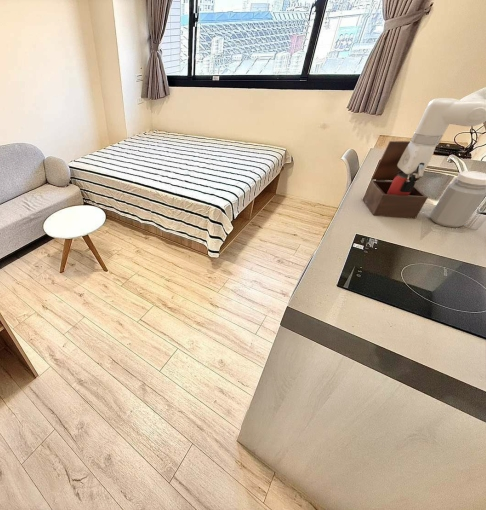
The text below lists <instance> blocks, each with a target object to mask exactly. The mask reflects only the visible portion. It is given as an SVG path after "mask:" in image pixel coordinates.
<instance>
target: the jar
mask: <svg viewBox="0 0 486 510" xmlns="http://www.w3.org/2000/svg"><path fill="white" fill-rule="evenodd" d="M453 181H454V182H452V183H450V184H448V185H447V187H446V189H445V191H444V192H443V193H442V195H441V197H440V198H439V200H438V202H437V204H436V205H435V206H434V208H433V210H432V212H431V213H430V219H431V221H432V222H433V223H435V224H437V225H440V226H443V227H447V228H460V227H462V226H464V225H466V224H467V223H468V221H469V220H470V219H471V217H472V216H473V214H474V213H475V212H476V210H477V209H478V207H479V206H480V205H481V203H482V202H483V200H484V199H485V198H486V172H483V171H482V172H481V171H475V170H474V171H473V170H463V171H460V172H459V173H458V174H457V176H456V179H454V180H453Z"/></svg>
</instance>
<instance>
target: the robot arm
mask: <svg viewBox="0 0 486 510" xmlns="http://www.w3.org/2000/svg"><path fill="white" fill-rule="evenodd" d="M485 122H486V86H485V87H483V88H480V89H478V90H476V91H474V92H472V93H470V94H467V95H466V96H464V97H462V98H461V99H458V98H451V97H437V98H433V99H432V100H430V101H429V102H428V104H427V106H426V108H425V110H424V112H423V113H422V116H421V118H420V121H419V123H418V125H417V126H416V129H415V131H414V133H413V134H412V137H411V139H410V140H409V141H410V143H409V144H408V146H407V148H406V149H405V151H404V153H403V154H402V156H401V158H400V160H399V162H398V164H397V166H398V168H399V170H398V172H397V175H398V174H399V173H405V174H408V176H407V180H406V181H404V183H403V185H402V187H401V189H400V192H411V190H412V188H413V186H414V185H415V184H416V183H418V181H419V180H420V179H421V178H423V177H424V172H425V171H426V169H427V168H428V166H429V164H430V162H431V160H432V157H433V155H434V152H435V150H436V147H437V146H439V144H440V142H441V140H442V138H443V137H444V135H445V133H446V131H447V129H448V127H449V125H455V126H460V127H475V126H479V125H482V124H484V123H485ZM412 172H416V173H412ZM397 175H396V176H397ZM411 175H415V176H413V177H412V178H411ZM415 186H416V185H415Z"/></svg>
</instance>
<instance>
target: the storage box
mask: <svg viewBox="0 0 486 510" xmlns="http://www.w3.org/2000/svg"><path fill="white" fill-rule="evenodd" d="M392 182H393V181H392V180H372V179H371V180H370V182H369V183H368V185H367V189H366V191H365V193H364V195H363V198H362V201H363V202H364V204H365V206H366V207H367V209H368V210H369V212H370V213H371V214H372V215H373V216H376V217H386V218H387V217H388V218H403V219H417V217H418V215H419V214H420V212H421V210H422V208H423V207H424V205H425V203H426V201H427V200H428V198H429V197H428V196H427V195H426V194H425V193H424V192H423V191H422V190H420V189H419V188H418V187H417V186H416V185H414V187H413V188H412V190H411V192H410V194H409V195H395V194H387V192H388V190H389V188H390V186H391V184H392Z"/></svg>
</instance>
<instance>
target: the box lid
mask: <svg viewBox="0 0 486 510" xmlns="http://www.w3.org/2000/svg"><path fill="white" fill-rule="evenodd" d="M410 141H411V140H390V141H389V142H388V143H387V145H386V148H385V150H384V152H383V153H382V156H381V158H380V160H379V162H378V164H377V166H376V168H375V170H374V172H373V174H372V176H371V180H376V181H393V179H394V178H395V177H396V175H397V172H398V170H399V168H398V166H397V164H398V162H399V160H400V158H401V156H402V154H403V153H404V151H405V149H406V148H407V146H408V144H409V143H410ZM412 173H416V172H412Z"/></svg>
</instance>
